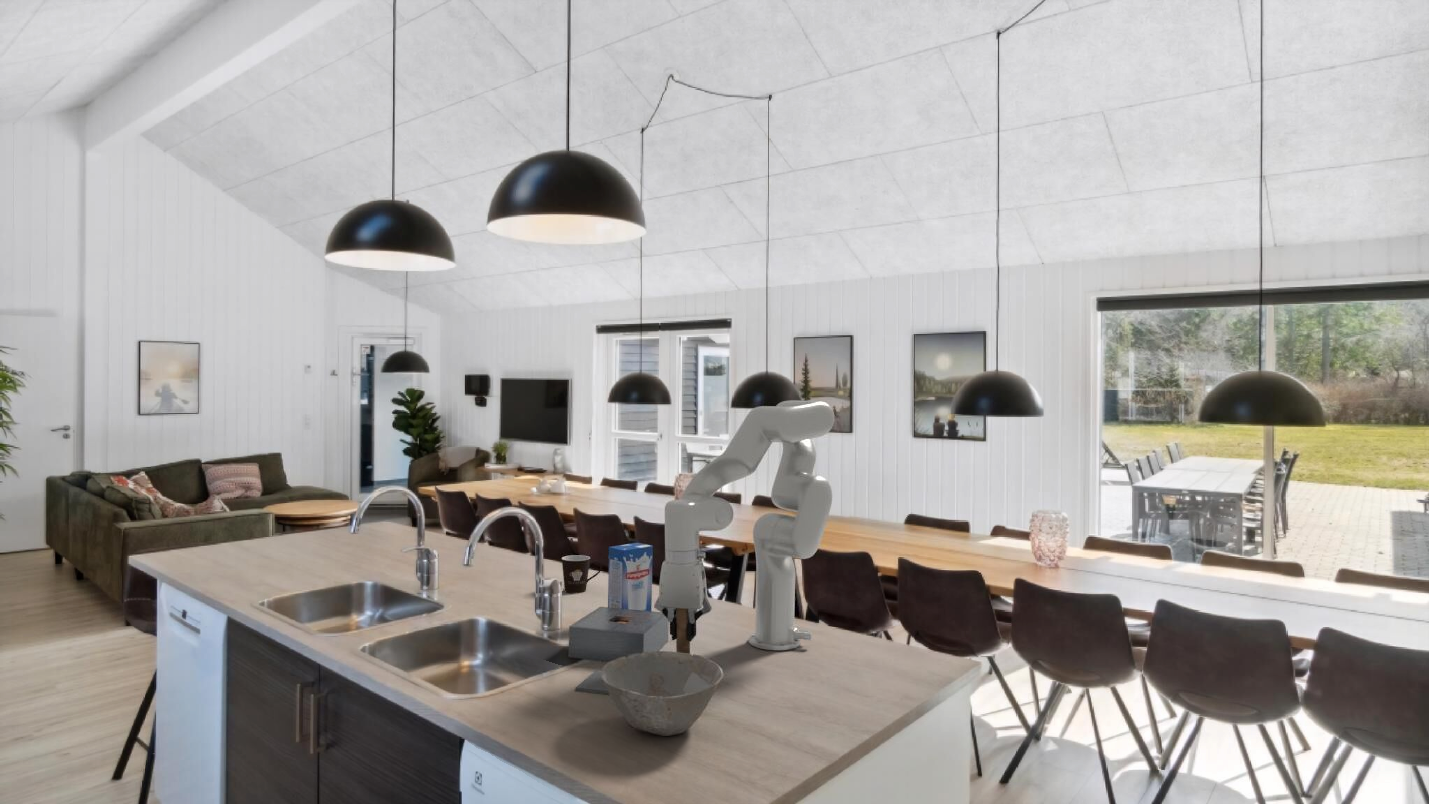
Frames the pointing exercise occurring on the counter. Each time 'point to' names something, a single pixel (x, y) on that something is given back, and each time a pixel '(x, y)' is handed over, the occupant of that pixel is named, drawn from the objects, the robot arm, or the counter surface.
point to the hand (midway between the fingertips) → (683, 638)
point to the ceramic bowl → (661, 689)
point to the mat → (593, 684)
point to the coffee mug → (577, 572)
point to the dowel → (682, 631)
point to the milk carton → (630, 577)
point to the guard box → (617, 634)
